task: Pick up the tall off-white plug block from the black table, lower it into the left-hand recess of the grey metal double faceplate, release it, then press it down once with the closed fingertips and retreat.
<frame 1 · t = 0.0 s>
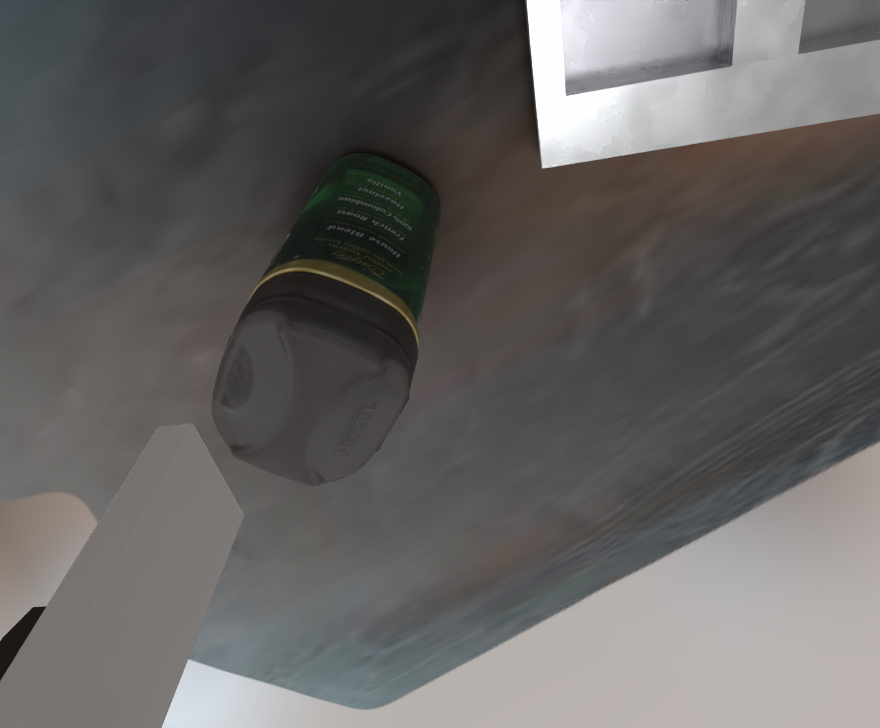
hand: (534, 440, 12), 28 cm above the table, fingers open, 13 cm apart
coffee jar: (369, 225, 40), on the table
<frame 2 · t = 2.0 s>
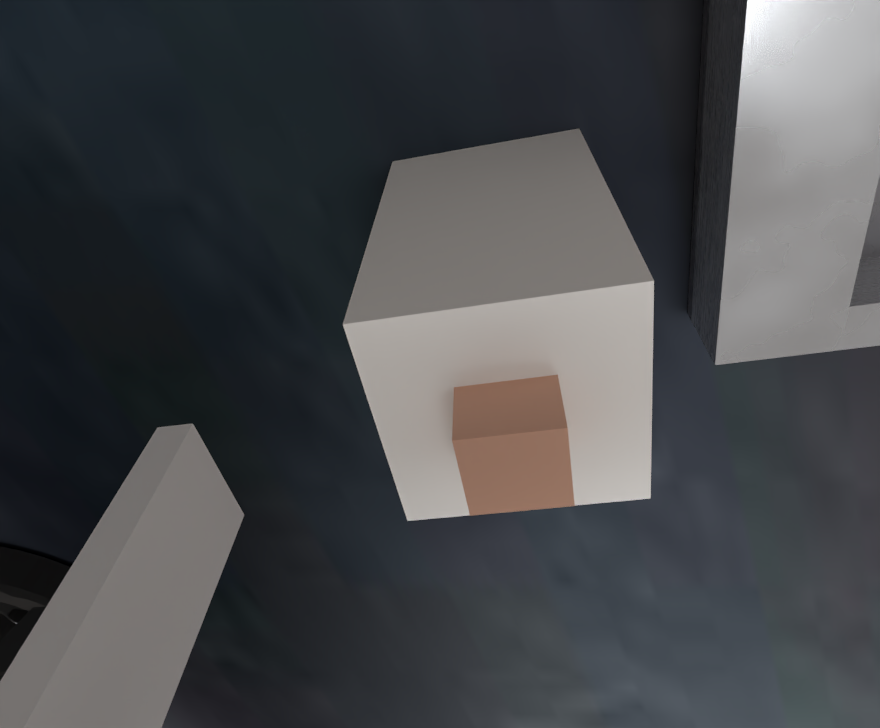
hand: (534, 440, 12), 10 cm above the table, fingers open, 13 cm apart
plug: (496, 231, 20), on the table
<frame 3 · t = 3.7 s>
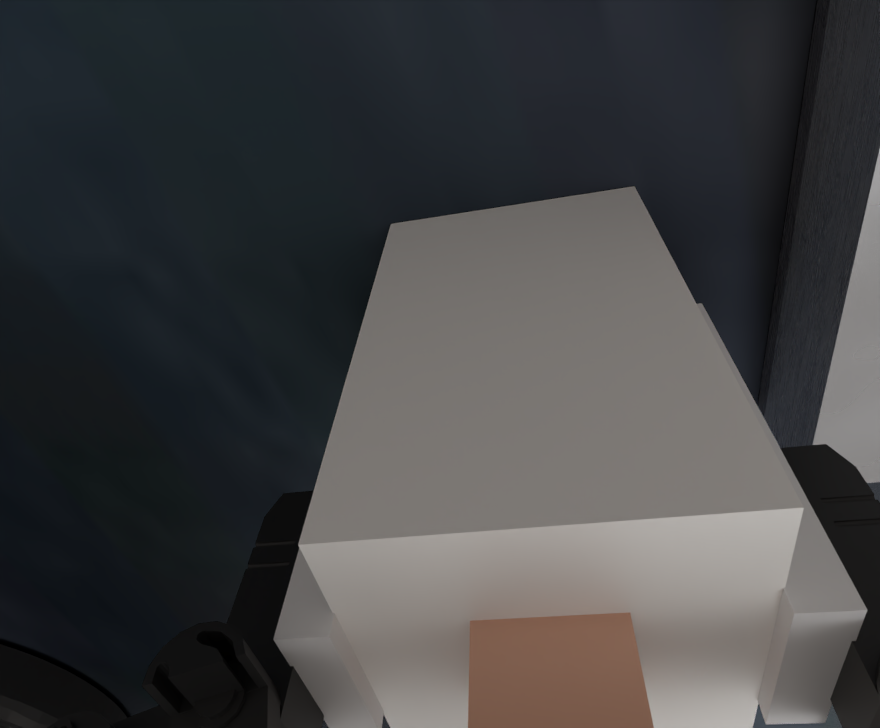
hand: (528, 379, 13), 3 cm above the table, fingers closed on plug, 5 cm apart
plug: (522, 308, 16), on the table, touching gripper
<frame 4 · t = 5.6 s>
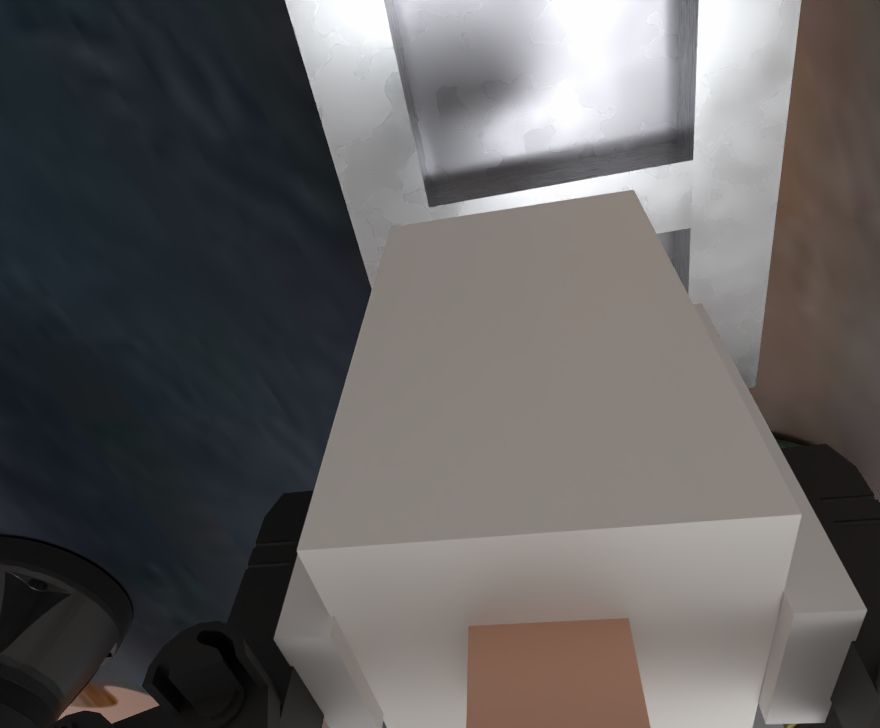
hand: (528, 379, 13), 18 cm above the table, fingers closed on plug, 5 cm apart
coffee jar: (769, 481, 40), on the table
socket plate: (552, 192, 29), on the table
plug: (521, 311, 16), point 15 cm above the table, touching gripper
when the fingers open (6 cm above the table, at t = 7.7 s): plug drops 2 cm, resting on socket plate.
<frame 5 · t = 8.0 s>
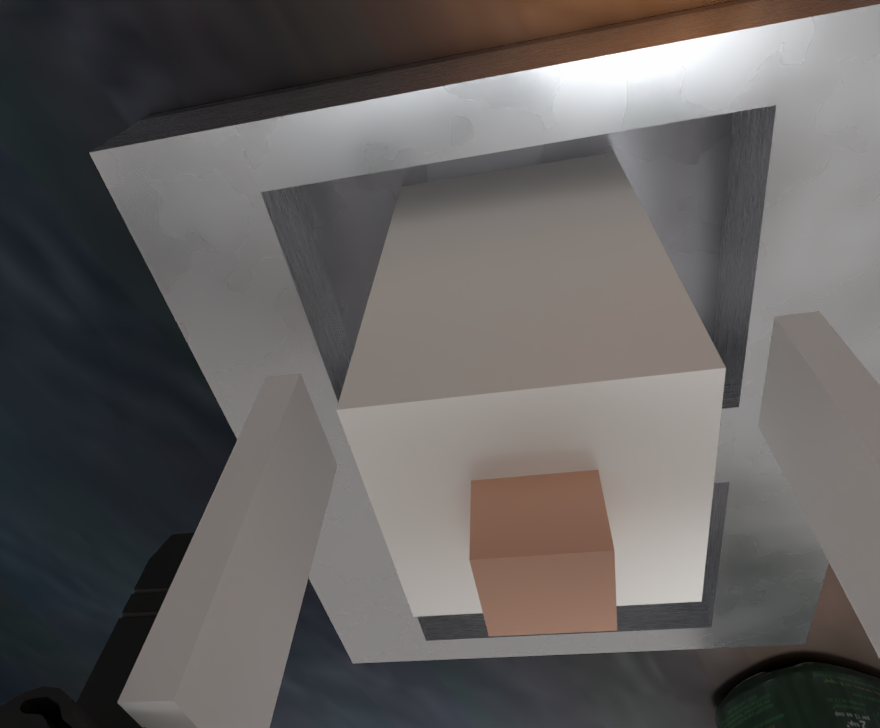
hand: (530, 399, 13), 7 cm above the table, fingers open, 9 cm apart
coffee jar: (808, 695, 32), on the table
socket plate: (535, 399, 21), on the table
plug: (516, 264, 18), resting on socket plate
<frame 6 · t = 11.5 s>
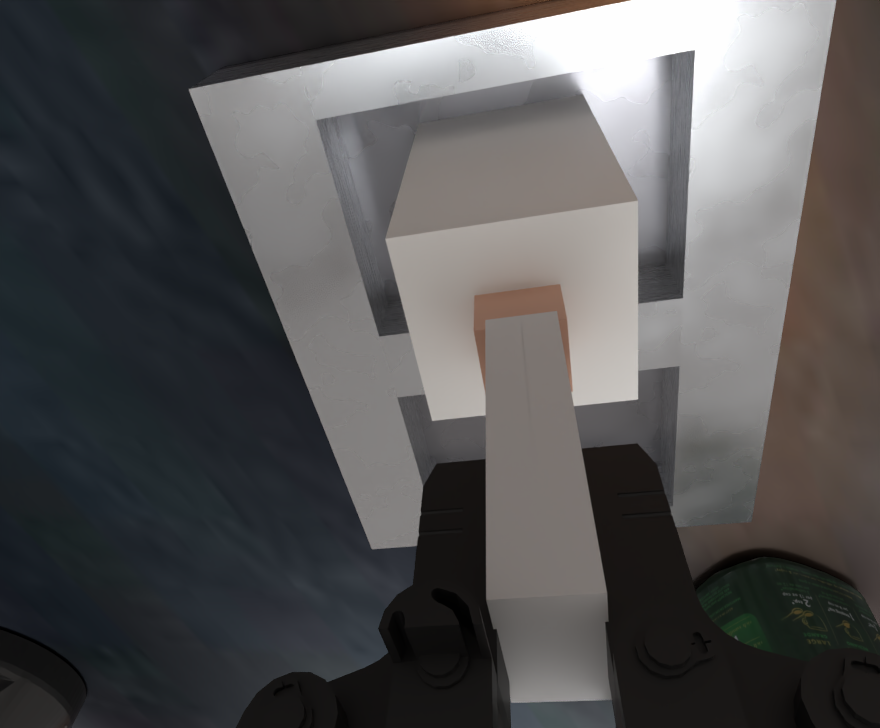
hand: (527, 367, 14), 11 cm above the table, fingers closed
coffee jar: (766, 594, 37), on the table
socket plate: (525, 309, 26), on the table
plug: (509, 188, 22), resting on socket plate, touching gripper
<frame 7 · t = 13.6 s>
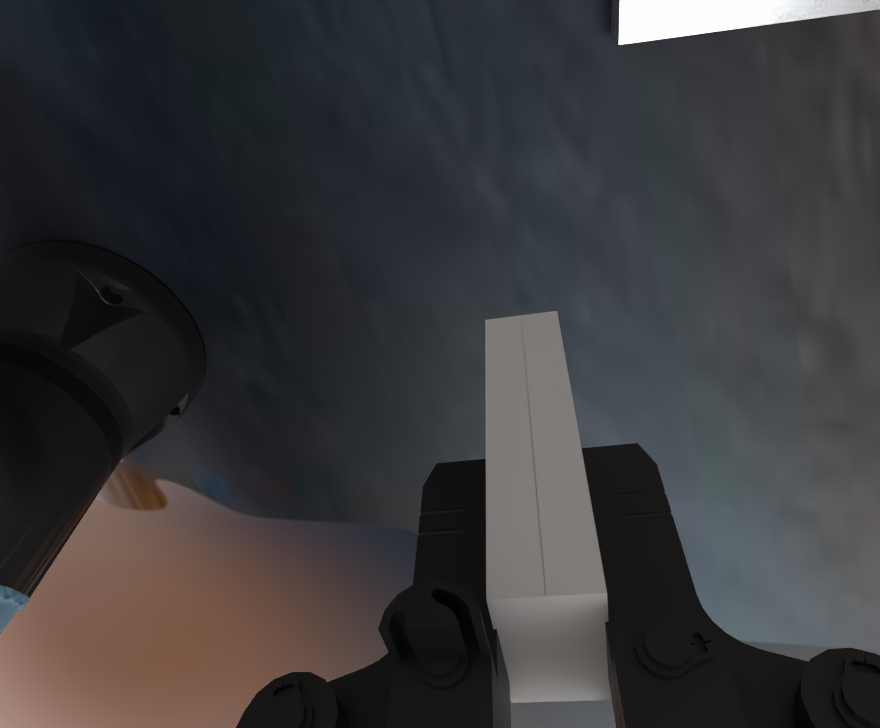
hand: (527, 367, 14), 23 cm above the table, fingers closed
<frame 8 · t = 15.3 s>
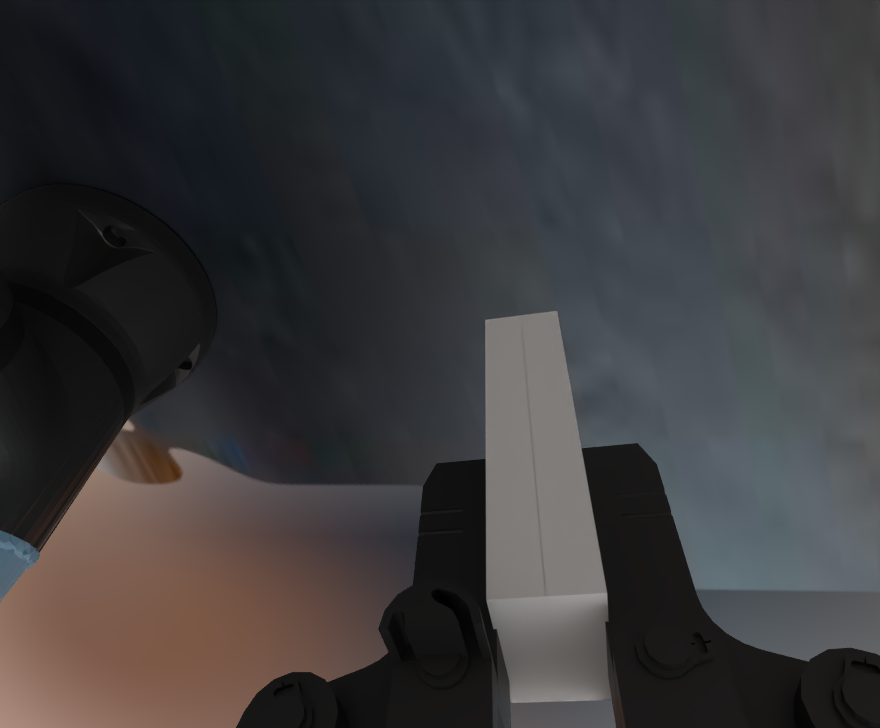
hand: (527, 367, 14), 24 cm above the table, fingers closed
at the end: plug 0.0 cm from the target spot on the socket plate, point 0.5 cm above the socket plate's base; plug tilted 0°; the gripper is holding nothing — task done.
